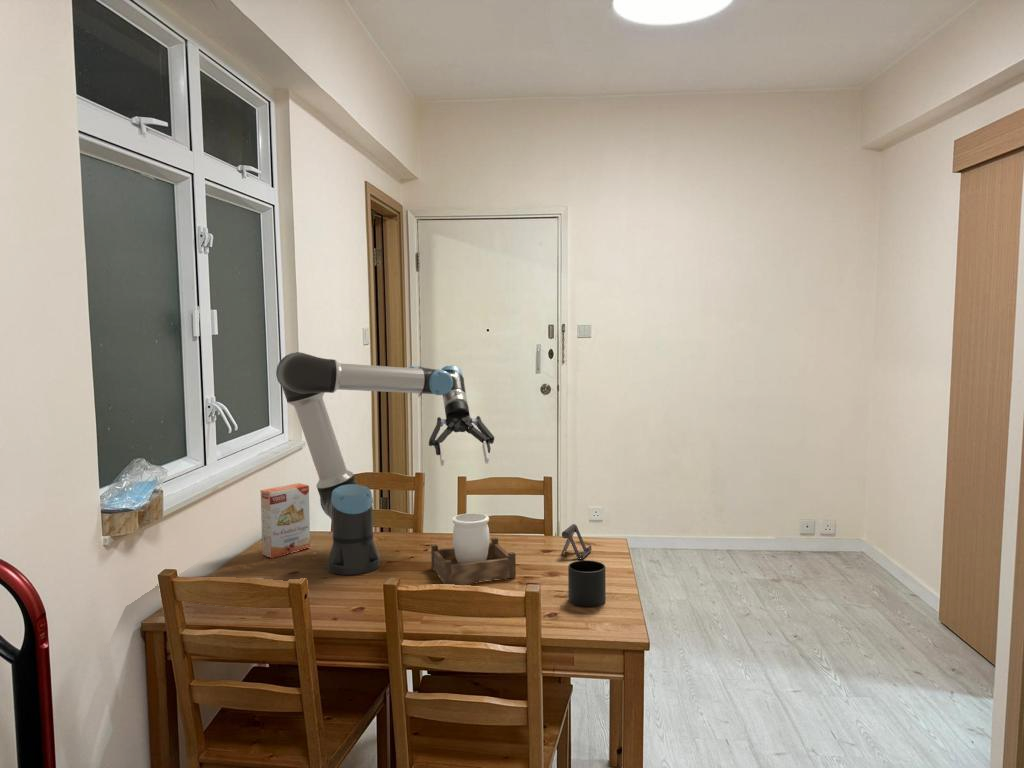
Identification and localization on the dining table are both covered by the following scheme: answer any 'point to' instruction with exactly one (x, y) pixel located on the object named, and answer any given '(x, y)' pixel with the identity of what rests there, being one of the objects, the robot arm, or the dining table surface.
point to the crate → (473, 565)
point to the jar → (471, 537)
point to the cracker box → (285, 519)
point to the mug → (586, 583)
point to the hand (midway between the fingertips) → (465, 462)
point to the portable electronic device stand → (569, 534)
